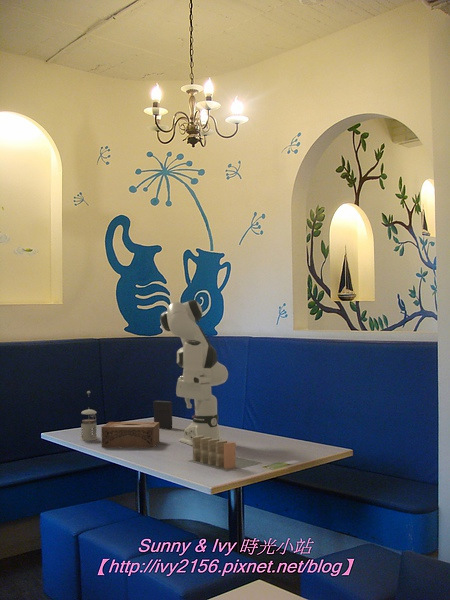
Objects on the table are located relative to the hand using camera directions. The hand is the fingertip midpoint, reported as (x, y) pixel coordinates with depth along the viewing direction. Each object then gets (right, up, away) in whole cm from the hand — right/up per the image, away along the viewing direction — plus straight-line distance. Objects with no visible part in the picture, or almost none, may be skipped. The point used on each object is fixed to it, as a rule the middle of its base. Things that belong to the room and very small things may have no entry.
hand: (193, 408), depth 279 cm
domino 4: (+13, -21, -15) cm, 29 cm away
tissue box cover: (-33, -24, +37) cm, 55 cm away
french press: (-57, -25, +53) cm, 81 cm away
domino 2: (+6, -21, -8) cm, 23 cm away
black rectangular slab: (-21, -25, +82) cm, 89 cm away
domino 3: (+9, -21, -11) cm, 26 cm away
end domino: (+16, -21, -19) cm, 32 cm away
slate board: (+14, -22, -9) cm, 27 cm away
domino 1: (+3, -21, -4) cm, 22 cm away
